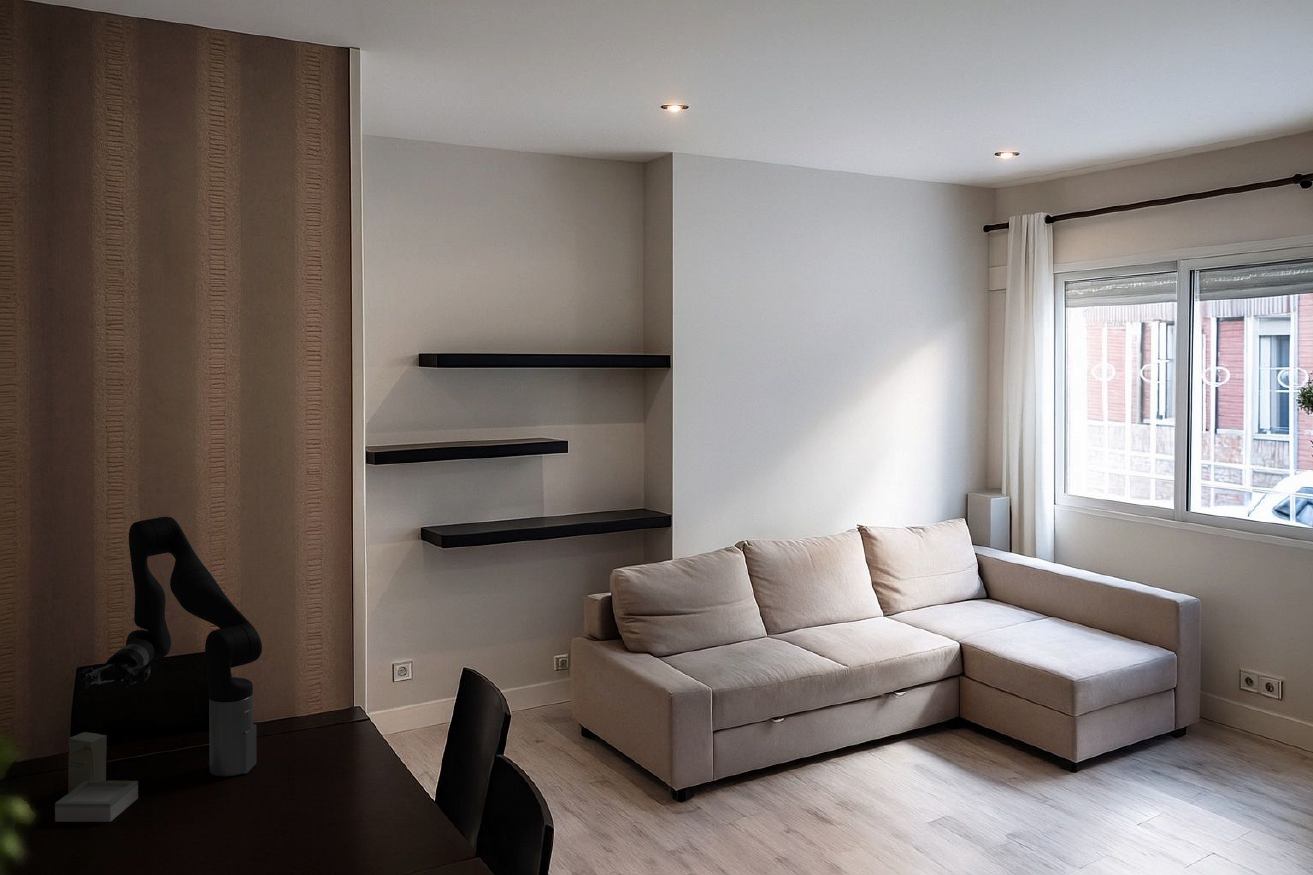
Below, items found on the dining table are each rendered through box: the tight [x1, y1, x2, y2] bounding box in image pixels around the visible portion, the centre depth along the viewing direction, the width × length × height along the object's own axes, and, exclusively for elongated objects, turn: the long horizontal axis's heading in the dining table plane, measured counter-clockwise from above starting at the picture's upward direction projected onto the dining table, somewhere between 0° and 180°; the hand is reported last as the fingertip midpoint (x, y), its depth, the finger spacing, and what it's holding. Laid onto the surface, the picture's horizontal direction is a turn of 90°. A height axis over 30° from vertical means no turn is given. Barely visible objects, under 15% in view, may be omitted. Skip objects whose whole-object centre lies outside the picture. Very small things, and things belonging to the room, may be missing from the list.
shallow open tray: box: [54, 780, 139, 823], centre depth 197 cm, size 11×11×4 cm
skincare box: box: [67, 731, 108, 793], centre depth 206 cm, size 6×4×12 cm
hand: (104, 684), depth 216 cm, fingers open, 8 cm apart
